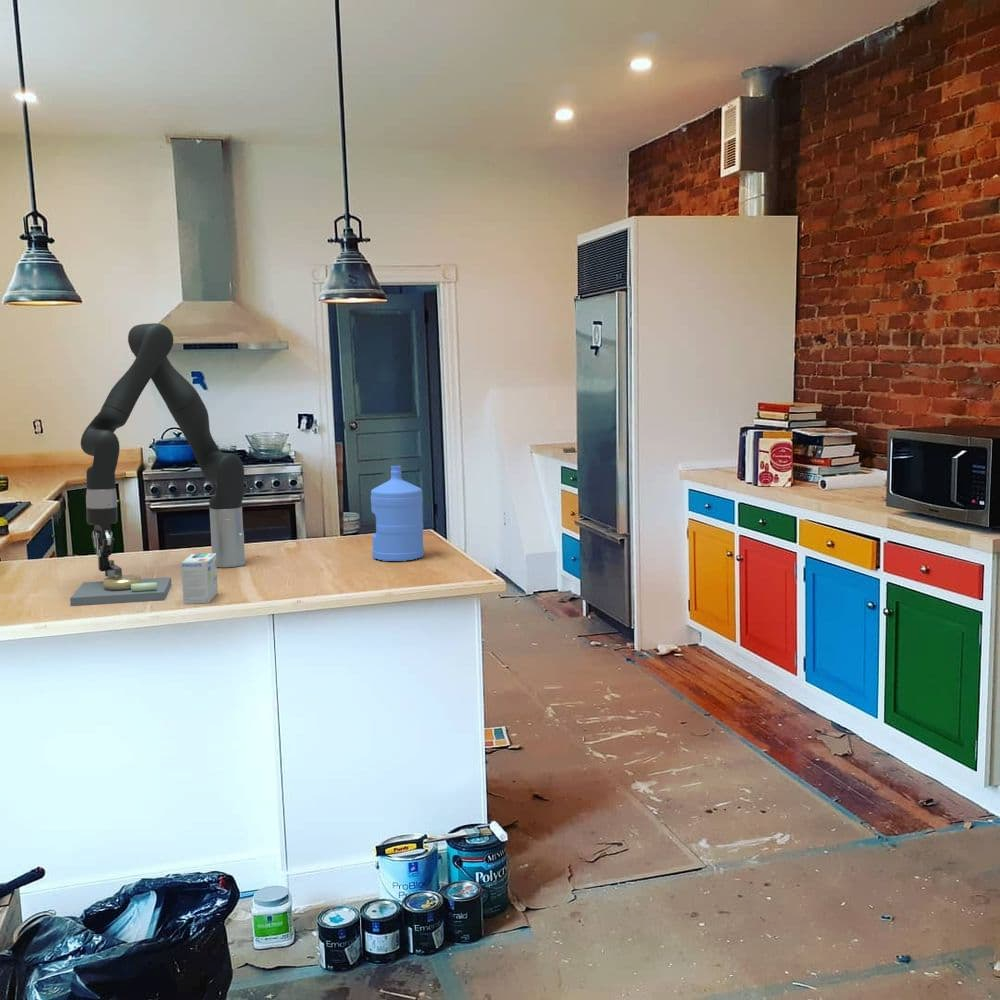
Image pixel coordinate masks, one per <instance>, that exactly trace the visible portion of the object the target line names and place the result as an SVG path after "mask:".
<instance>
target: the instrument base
mask: <svg viewBox="0 0 1000 1000" xmlns="http://www.w3.org/2000/svg"><path fill="white" fill-rule="evenodd" d="M170 586H172V577H168V576H167V577H156V578H155V577H154V578H153V577H152V578H141V583H136V584H131V589H125V590H107V589H104V582H103V581H102V580H101V581H88V582H85V581H84V582H82V584H80V586H79V587H78V588H77V590H75V592H73V594H72V595H71V596H70V598H69V601H70V606H71V607H73V606H74V607H75V606H89V605H90V606H91V604H92V605H105V604H106V603H108V604H120V603H121V602H124V603H135V602H136V603H137V602H138V603H139V601H140V602H153V601H165V600H164V599H166V598H167V595H168V593H169V591H170V589H171V587H170Z"/></svg>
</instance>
